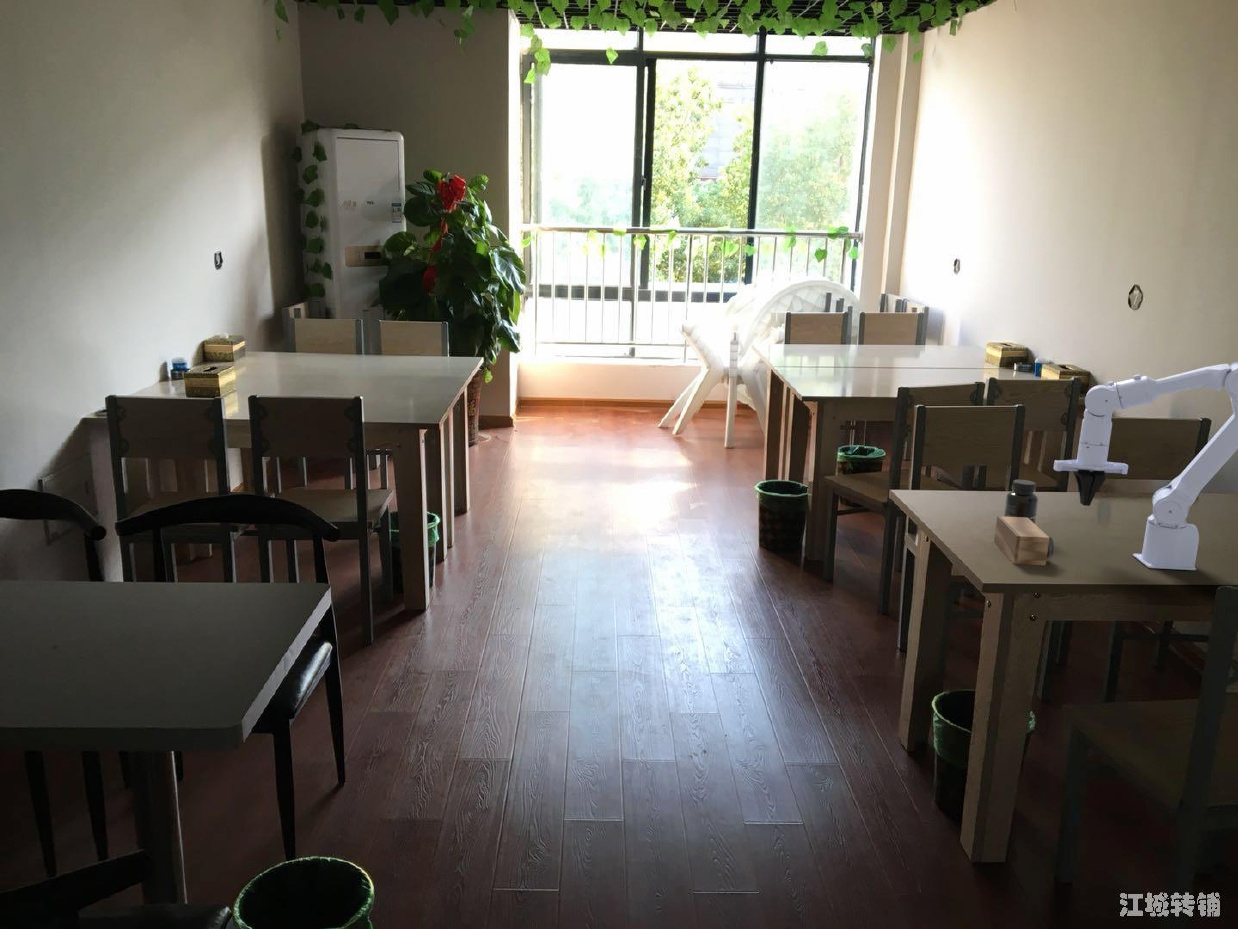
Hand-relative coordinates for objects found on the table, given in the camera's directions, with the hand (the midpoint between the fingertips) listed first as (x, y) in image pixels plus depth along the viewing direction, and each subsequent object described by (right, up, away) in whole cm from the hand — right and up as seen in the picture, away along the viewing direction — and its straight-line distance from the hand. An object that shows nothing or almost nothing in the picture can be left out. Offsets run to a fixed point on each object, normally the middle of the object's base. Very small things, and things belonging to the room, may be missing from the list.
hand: (1085, 504), depth 211 cm
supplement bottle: (-9, -7, +14) cm, 18 cm away
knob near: (-13, -11, -4) cm, 18 cm away
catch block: (-14, -10, 0) cm, 18 cm away
